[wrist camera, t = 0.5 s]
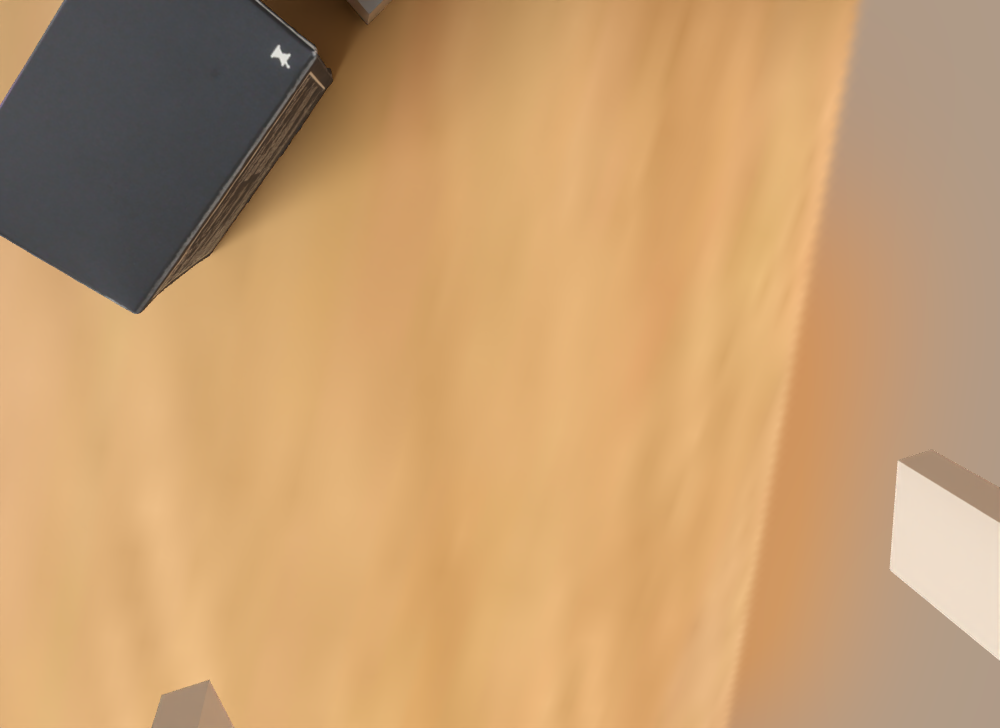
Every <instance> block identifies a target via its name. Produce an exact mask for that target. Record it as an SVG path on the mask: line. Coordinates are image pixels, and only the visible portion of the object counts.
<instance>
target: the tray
mask: <svg viewBox="0 0 1000 728" xmlns="http://www.w3.org/2000/svg"><path fill="white" fill-rule="evenodd" d="M346 1H347V2H348V3H349V4H350V5H351V6H352V8H353V9H354V10H355V11H356V12H357V14H358V15H359V16H360V17H361V18H362V19H363V21H364V22H365V23H366V24H367V25H368V24H369V23H370V22H371V21H372V20H373V19H374V18H375V17H376V16H377V15H378V14H379V13H380V12H381V11H382V10H383V9H384V8H385V7H386V6H387V5H388V4H389V3H390V2H391V1H392V0H346Z"/></svg>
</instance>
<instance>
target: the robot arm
mask: <svg viewBox="0 0 1000 728" xmlns="http://www.w3.org/2000/svg"><path fill="white" fill-rule="evenodd" d="M890 571H892V572H893V573H894V574H895V575H897V576H898V577H899V578H900V579H902V580H903V581H904V582H905V583H906V584H907V585H909V586H910V587H911V588H912V589H914V590H915V591H916V592H917V593H918V594H920V595H921V596H922V597H923V598H924V599H926V600H927V601H928V602H930V603H931V604H932V605H933V606H934V607H935V608H937V609H938V610H939V611H940V612H941V613H943V614H944V615H945V616H946V617H947V618H949V619H950V620H951V621H952V622H954V623H955V624H956V625H957V626H958V627H960V628H961V629H962V630H963V631H965V632H966V633H967V634H968V635H969V636H971V637H972V638H973V639H974V640H975V641H977V642H978V643H979V644H980V645H982V646H983V647H984V648H985V649H986V650H988V651H989V652H990V653H991V654H992V655H994V656H995V657H996V658H997V659H998V660H1000V487H998V486H996V485H994V484H992V483H991V482H989V481H987V480H985V479H983V478H982V477H980V476H978V475H976V474H975V473H972V472H971V471H969V470H967V469H966V468H964V467H962V466H960V465H958V464H957V463H955V462H953V461H951V460H950V459H948V458H946V457H944V456H943V455H940V454H939V453H937V452H935V451H934V450H929V451H926V452H922V453H919V454H916V455H913V456H910V457H907V458H904V459H901V460H898V465H897V479H896V491H895V505H894V519H893V532H892V546H891V559H890ZM152 728H234V726H233V724H232V723H231V721H230V719H229V717H228V715H227V713H226V711H225V709H224V707H223V705H222V703H221V701H220V699H219V698H218V696H217V694H216V692H215V690H214V688H213V686H212V684H211V682H210V680H208V681H205V682H201V683H198V684H195V685H192V686H189V687H186V688H183V689H179V690H176V691H173V692H170V693H167V694H164V695H162V696H161V699H160V702H159V706H158V709H157V712H156V715H155V718H154V721H153V725H152Z"/></svg>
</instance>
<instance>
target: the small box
mask: <svg viewBox="0 0 1000 728" xmlns="http://www.w3.org/2000/svg"><path fill="white" fill-rule="evenodd" d="M317 52H318V51H317V48H316V46H315V45H314V44H313V43H311V42H310V41H308V40H307V39H306V38H304V37H303V36H302V35H301V34H299V33H298V32H297V31H296V30H295V29H294V28H293V27H291V26H290V25H289V24H287V23H286V22H285V21H284V20H283V19H282V18H280V17H279V16H278V15H277V14H276V13H274V12H273V11H272V10H271V9H270V8H269V7H267V6H266V5H265V4H264V3H263V2H261V1H260V0H64V1H63V3H62V5H61V6H60V8H59V10H58V11H57V13H56V15H55V16H54V18H53V20H52V21H51V23H50V25H49V26H48V28H47V30H46V31H45V33H44V34H43V36H42V38H41V39H40V41H39V43H38V44H37V46H36V48H35V49H34V51H33V53H32V54H31V56H30V58H29V59H28V61H27V63H26V64H25V66H24V68H23V69H22V71H21V72H20V74H19V75H18V77H17V79H16V80H15V82H14V84H13V85H12V87H11V88H10V90H9V92H8V93H7V95H6V97H5V98H4V100H3V101H2V103H1V105H0V236H2V237H4V238H6V239H7V240H9V241H11V242H12V243H14V244H16V245H17V246H19V247H21V248H23V249H24V250H26V251H27V252H29V253H31V254H32V255H34V256H35V257H37V258H39V259H41V260H43V261H44V262H46V263H48V264H49V265H51V266H53V267H55V268H57V269H58V270H60V271H62V272H63V273H65V274H67V275H69V276H70V277H72V278H73V279H75V280H77V281H78V282H80V283H82V284H84V285H86V286H87V287H89V288H91V289H92V290H94V291H96V292H97V293H99V294H101V295H103V296H104V297H106V298H108V299H110V300H111V301H113V302H115V303H116V304H118V305H120V306H121V307H123V308H125V309H127V310H129V311H131V312H132V313H134V314H139V313H141V312H142V311H143V310H144V309H145V308H146V307H147V306H148V304H149V303H151V302H152V301H153V299H154V298H155V297H156V296H157V295H158V294H160V293H161V292H162V291H163V290H164V289H165V288H167V287H168V286H169V285H170V284H172V283H173V282H174V281H175V280H177V279H178V278H179V277H180V276H182V275H183V274H185V273H186V272H187V271H188V270H189V269H191V268H192V267H193V266H195V265H196V264H198V263H199V262H200V261H202V260H203V259H205V258H207V257H208V256H210V254H211V253H212V251H213V249H214V248H215V247H216V246H217V244H218V243H219V242H220V240H221V239H222V238H223V236H224V235H225V233H226V232H227V231H228V229H229V228H230V226H231V225H232V223H233V222H234V221H235V219H236V218H237V216H238V215H239V213H240V212H241V210H242V209H243V208H244V207H245V205H246V204H247V203H248V202H249V201H250V199H251V197H252V195H253V194H254V193H255V191H256V189H257V188H258V187H259V186H260V184H261V183H262V181H263V180H264V178H265V176H266V175H267V174H268V172H269V171H270V170H271V168H272V167H273V166H274V164H275V163H276V161H277V160H278V158H279V157H280V156H282V155H283V153H284V151H285V149H286V148H287V146H288V145H289V144H290V143H291V140H292V139H293V137H294V136H295V135H296V134H297V132H298V131H299V130H300V129H301V127H302V125H303V123H304V122H305V120H306V119H307V118H308V116H309V115H310V113H311V111H312V110H313V108H314V107H315V106H316V104H317V103H318V101H319V99H320V98H321V97H322V95H323V94H324V92H325V91H326V89H327V88H328V87H329V85H330V84H331V83H332V82H333V78H332V73H331V69H330V68H326V66H325V64H324V62H323V61H322V60H321V58H320V56H319V55H318V54H317Z"/></svg>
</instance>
